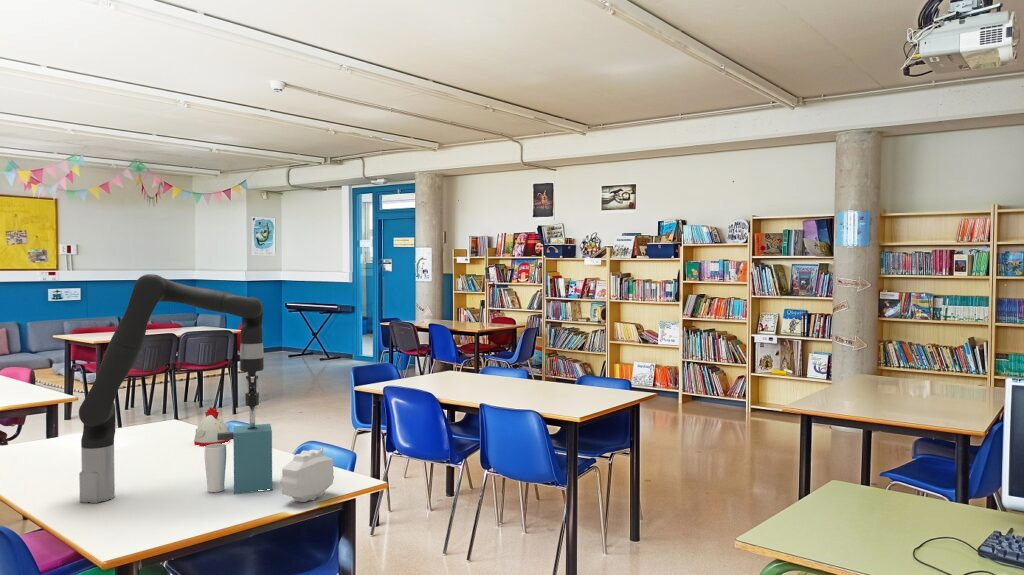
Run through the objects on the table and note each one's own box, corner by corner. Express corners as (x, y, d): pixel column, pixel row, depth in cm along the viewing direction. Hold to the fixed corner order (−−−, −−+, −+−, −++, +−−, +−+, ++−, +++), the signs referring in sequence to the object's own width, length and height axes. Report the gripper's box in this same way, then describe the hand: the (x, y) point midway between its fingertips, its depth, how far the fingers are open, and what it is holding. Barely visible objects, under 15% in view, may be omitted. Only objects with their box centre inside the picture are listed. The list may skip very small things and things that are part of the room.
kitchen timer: (207, 448, 308) (207, 411, 308) (187, 443, 316) (187, 408, 315) (236, 441, 320) (236, 406, 319) (216, 437, 327) (216, 403, 327)
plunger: (259, 435, 256) (258, 391, 255) (259, 438, 251) (259, 393, 251) (245, 436, 254) (245, 392, 254) (245, 439, 250) (245, 394, 250)
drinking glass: (212, 495, 244) (211, 449, 244) (200, 491, 249) (200, 446, 248) (230, 490, 250) (230, 445, 249) (219, 486, 254) (219, 442, 254)
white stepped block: (338, 494, 245) (338, 446, 245) (299, 510, 229) (299, 458, 229) (313, 489, 250) (313, 442, 250) (273, 504, 234) (272, 454, 234)
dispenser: (270, 480, 261) (270, 423, 260) (272, 490, 250) (271, 430, 249) (218, 485, 255) (217, 427, 255) (217, 495, 244) (217, 434, 243)
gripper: (264, 358, 247) (264, 407, 247) (262, 353, 260) (263, 400, 260) (240, 359, 244) (240, 409, 244) (239, 354, 257) (240, 401, 258)
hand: (252, 404), depth 252 cm, fingers open, 8 cm apart
